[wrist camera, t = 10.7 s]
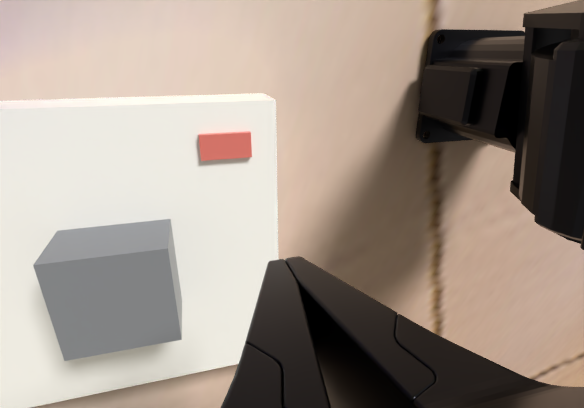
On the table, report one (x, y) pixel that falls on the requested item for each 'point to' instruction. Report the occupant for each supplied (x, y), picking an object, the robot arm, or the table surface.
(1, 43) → the table surface
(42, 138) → the socket plate
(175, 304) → the plug
